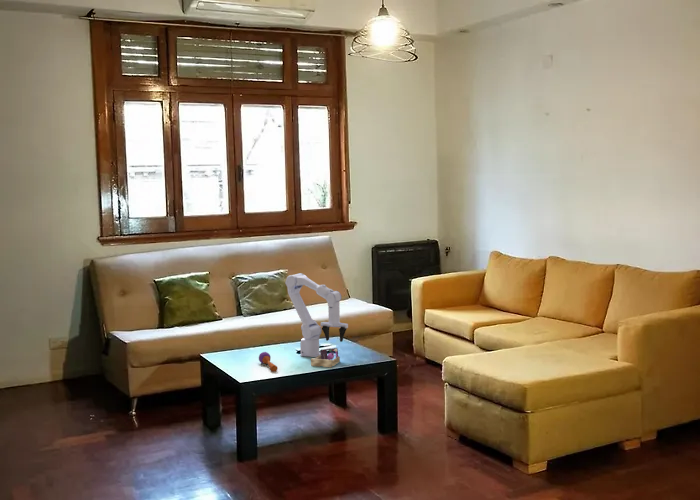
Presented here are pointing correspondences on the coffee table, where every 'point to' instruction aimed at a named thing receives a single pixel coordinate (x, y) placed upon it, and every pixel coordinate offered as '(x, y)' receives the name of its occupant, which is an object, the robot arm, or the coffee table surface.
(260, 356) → the kendama
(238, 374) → the coffee table surface
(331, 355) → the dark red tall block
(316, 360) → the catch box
